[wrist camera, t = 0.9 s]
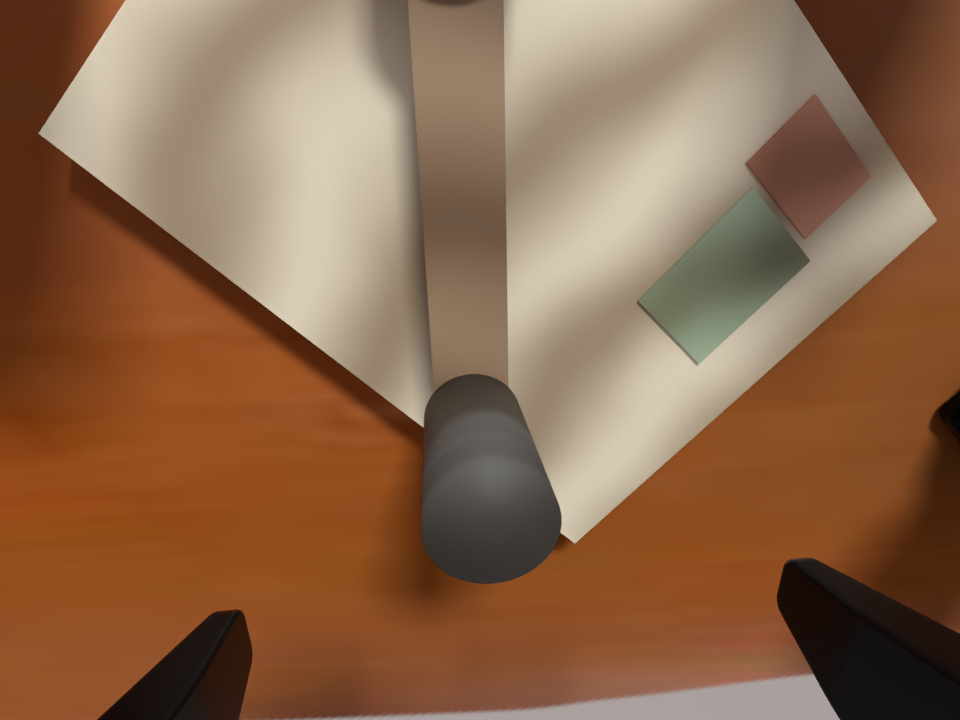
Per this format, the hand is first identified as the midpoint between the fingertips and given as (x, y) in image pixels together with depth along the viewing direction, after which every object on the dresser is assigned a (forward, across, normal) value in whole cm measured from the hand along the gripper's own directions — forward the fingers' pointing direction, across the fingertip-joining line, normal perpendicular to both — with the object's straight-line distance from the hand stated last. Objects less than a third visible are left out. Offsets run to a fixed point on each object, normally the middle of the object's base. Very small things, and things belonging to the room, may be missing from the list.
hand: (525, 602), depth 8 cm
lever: (+10, 0, -8) cm, 13 cm away
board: (+12, -2, -6) cm, 14 cm away
